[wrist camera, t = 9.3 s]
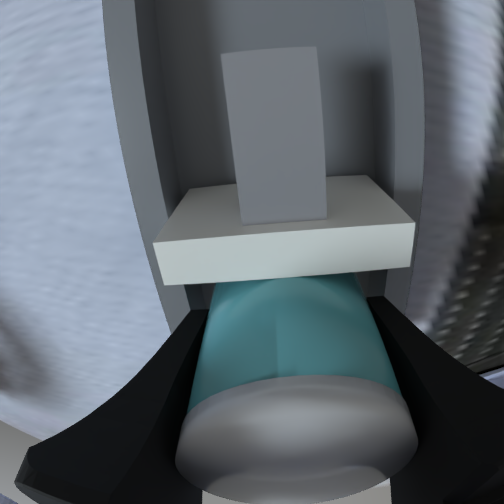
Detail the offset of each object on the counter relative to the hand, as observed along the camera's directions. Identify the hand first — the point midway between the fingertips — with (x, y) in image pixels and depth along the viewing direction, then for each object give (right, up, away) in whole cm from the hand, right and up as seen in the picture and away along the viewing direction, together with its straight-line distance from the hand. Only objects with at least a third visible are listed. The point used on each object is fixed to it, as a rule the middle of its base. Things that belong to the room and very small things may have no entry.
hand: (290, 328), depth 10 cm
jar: (0, +1, +1) cm, 2 cm away
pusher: (0, +6, 0) cm, 6 cm away
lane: (0, +7, +1) cm, 7 cm away
